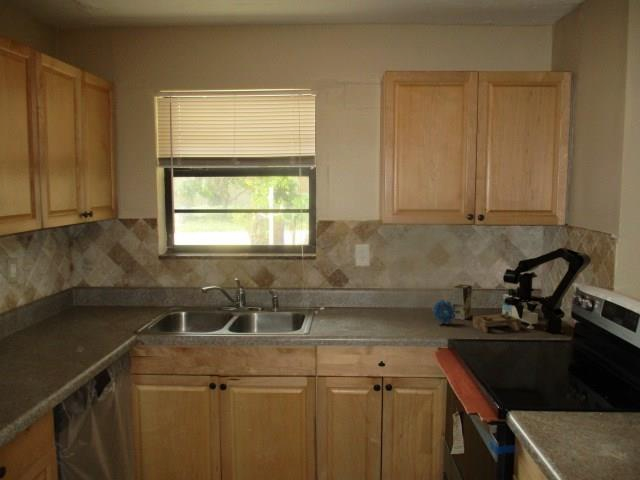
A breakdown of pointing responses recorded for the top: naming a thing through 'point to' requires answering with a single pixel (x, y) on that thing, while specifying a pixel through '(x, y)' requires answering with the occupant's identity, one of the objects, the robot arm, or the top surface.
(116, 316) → the top surface
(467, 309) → the coffee box
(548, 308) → the robot arm
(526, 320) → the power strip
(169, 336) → the top surface
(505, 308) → the light bulb box
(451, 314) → the grapes
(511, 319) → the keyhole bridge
